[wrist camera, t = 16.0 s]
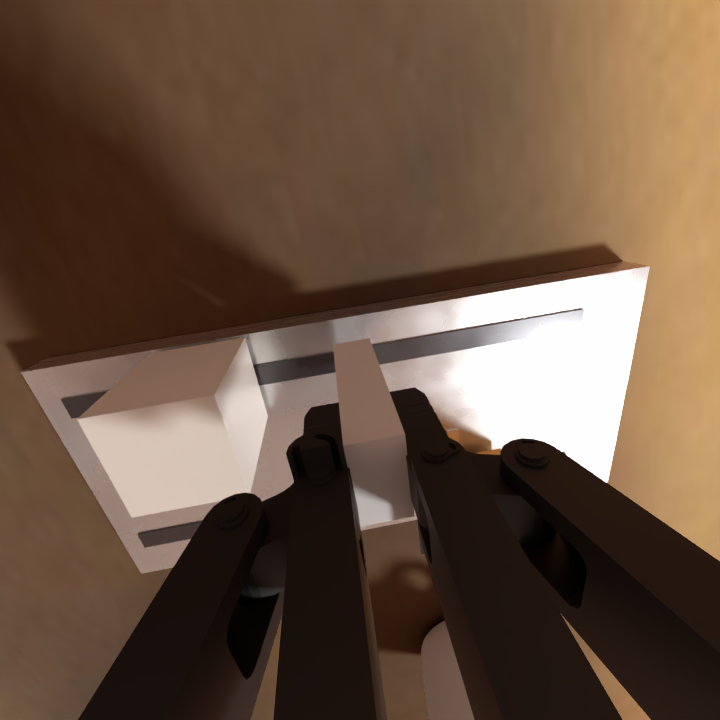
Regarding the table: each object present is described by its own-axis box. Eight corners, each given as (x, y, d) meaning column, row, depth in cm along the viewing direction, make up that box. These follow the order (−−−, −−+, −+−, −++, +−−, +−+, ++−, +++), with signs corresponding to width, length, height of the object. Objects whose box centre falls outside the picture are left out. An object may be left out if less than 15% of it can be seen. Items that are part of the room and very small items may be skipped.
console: (152, 550, 22) (140, 575, 20) (45, 358, 16) (19, 373, 15) (590, 465, 23) (608, 483, 22) (624, 261, 18) (651, 266, 16)
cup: (418, 581, 26) (458, 729, 19) (522, 573, 27) (598, 711, 20) (404, 667, 30) (432, 814, 23) (493, 657, 31) (548, 796, 24)
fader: (182, 431, 17) (131, 517, 12) (149, 353, 15) (76, 419, 10) (267, 416, 17) (250, 495, 12) (244, 337, 15) (214, 395, 11)
